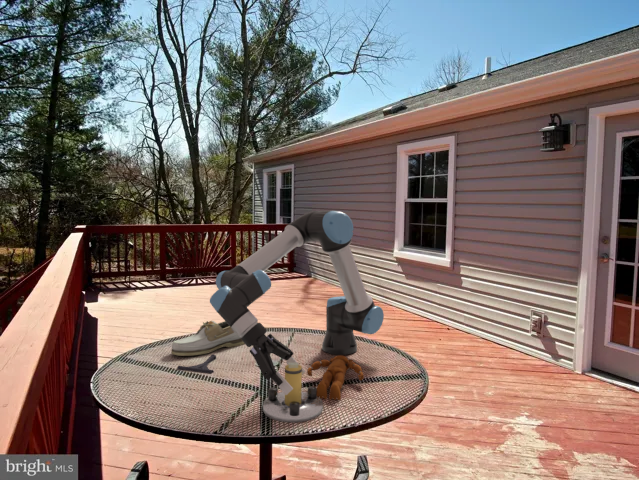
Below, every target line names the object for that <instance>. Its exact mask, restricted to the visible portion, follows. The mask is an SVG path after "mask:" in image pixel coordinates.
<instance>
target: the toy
mask: <svg viewBox="0 0 639 480" xmlns="http://www.w3.org/2000/svg"><path fill="white" fill-rule="evenodd" d="M321 367H322V368H327V369H326V371H324V372H323V375H322V377H321V378H322V379H321V380H320V381H319V384H317V387H316V388H317V396H318V397H319V398H321V400H322V399H324V400H327V399H328V397H329V400H335V401H336V400H337V401H341V398H342V395H341V393H342V392H341V390H342V388H343V384H344V383H345V376H346V373H347V371H348V370H353V372H354V373H356V374H357V376H358V380H359V381H363V380H364V378H365V376H364V375H365V374H364V372H363V369H362V367H361V365H359V364H357V363H356V362H354V360H353V359H348V358H347V356H345V355H335V356H334V357H331V358H330V359H329V360H328V359H321V360H320V361H319V360H317V361H314V362H313V363H312V364H311V366H309V367H308V368H307V371H306V374H307V375H308V377H312V376H313V371H317V370H319V369H320V368H321ZM329 388H330V389H329ZM328 389H329V396H328Z"/></svg>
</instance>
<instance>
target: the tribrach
mask: <svg viewBox="0 0 639 480" xmlns="http://www.w3.org/2000/svg"><path fill="white" fill-rule="evenodd" d="M267 393H268V395H267V397H266V398H265V399H264V401H263V403H262V411H263V414H265V416H266V417H268V418H269V419H272V420H274V421H277V422H282V423H302V422H306V421H307V422H308V421H311V420H314V419H315V418H317V417H319V416H320V415H321V414H322V413H323V411H324V402H323V400H322V399H321V398H320V396H319V397H318V396H317V387H316V386H313V385H312V386H308V387H307V391H302V390H301V404H300V403H299V402H291V403H290V406H287V405H286V404H285V394H284V392H283V391H280V392H278V387H270V388H268V392H267ZM299 404H300V405H299Z"/></svg>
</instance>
